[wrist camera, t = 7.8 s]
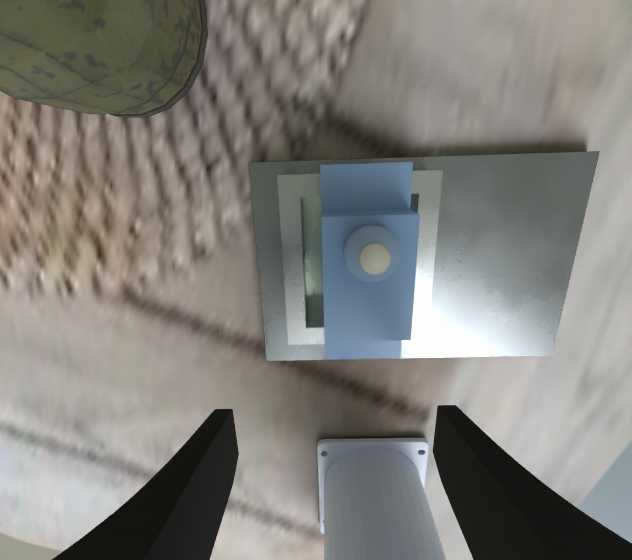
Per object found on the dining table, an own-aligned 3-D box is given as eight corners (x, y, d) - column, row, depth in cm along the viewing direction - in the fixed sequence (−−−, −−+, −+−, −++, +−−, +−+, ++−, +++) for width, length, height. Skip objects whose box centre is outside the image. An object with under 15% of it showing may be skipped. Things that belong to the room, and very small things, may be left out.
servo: (383, 316, 20) (417, 398, 13) (323, 318, 20) (326, 399, 13) (389, 162, 17) (437, 161, 10) (320, 164, 17) (320, 165, 10)
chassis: (543, 348, 22) (580, 379, 19) (268, 354, 22) (260, 385, 19) (587, 151, 18) (644, 149, 15) (251, 162, 18) (237, 162, 15)
